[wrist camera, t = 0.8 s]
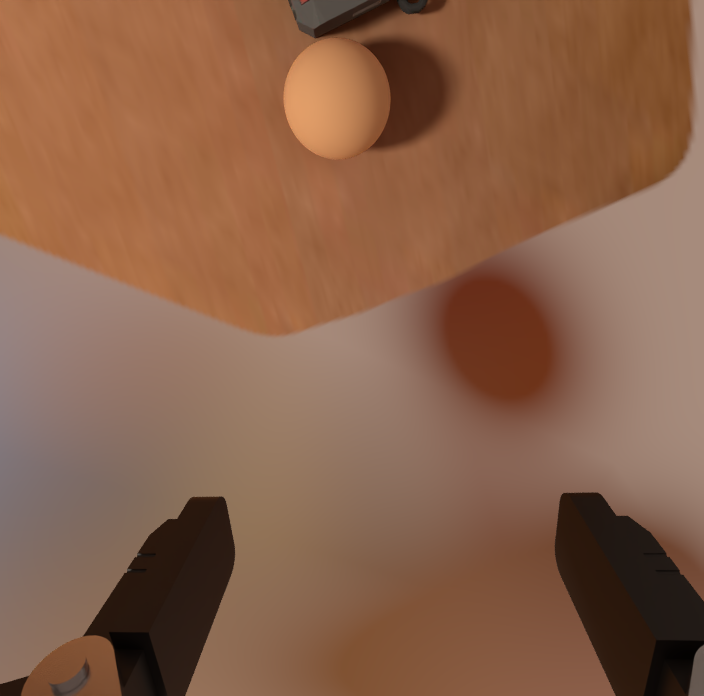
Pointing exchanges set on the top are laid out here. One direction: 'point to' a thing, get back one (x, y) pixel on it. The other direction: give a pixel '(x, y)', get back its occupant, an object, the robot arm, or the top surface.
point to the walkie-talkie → (338, 12)
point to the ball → (337, 98)
